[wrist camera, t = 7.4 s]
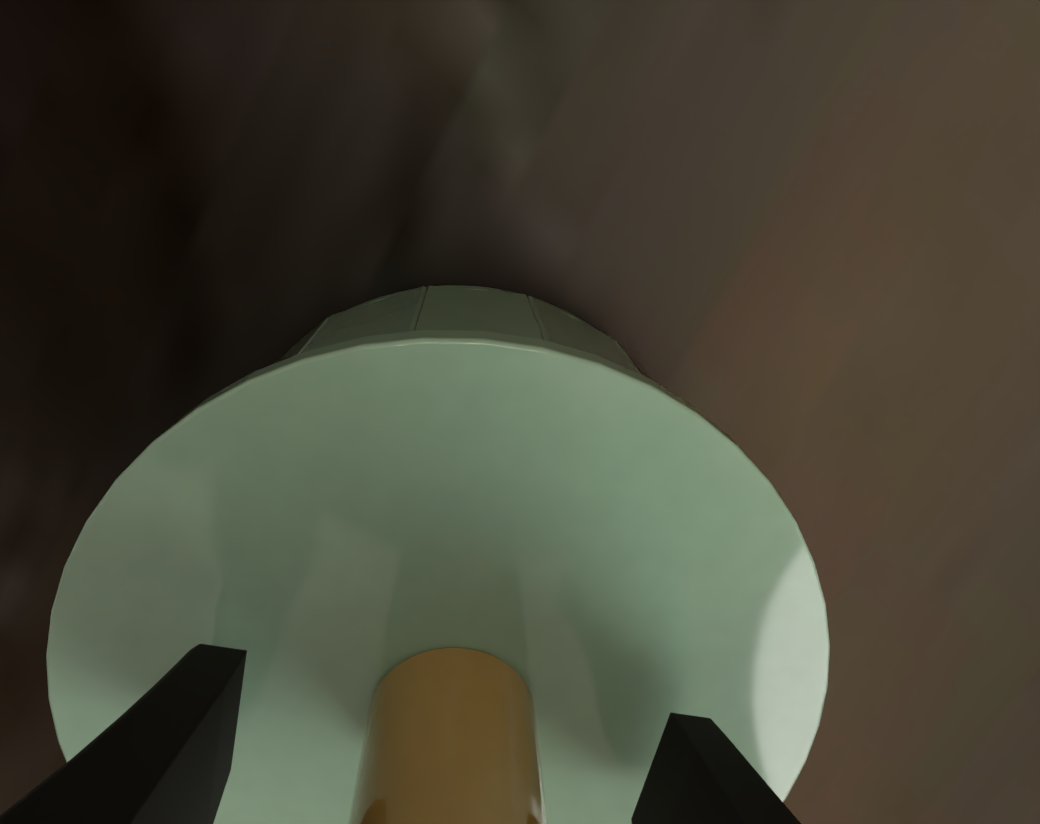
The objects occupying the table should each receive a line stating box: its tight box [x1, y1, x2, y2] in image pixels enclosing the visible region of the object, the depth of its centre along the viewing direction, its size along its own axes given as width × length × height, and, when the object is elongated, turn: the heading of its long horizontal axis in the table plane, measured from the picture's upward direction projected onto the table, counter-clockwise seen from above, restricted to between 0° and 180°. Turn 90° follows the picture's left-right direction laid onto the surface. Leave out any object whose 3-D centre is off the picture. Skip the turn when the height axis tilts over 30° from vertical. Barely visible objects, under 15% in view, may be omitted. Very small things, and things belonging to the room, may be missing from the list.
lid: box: [46, 330, 830, 824], centre depth 10 cm, size 11×11×4 cm
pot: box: [274, 285, 644, 376], centre depth 14 cm, size 10×10×6 cm
